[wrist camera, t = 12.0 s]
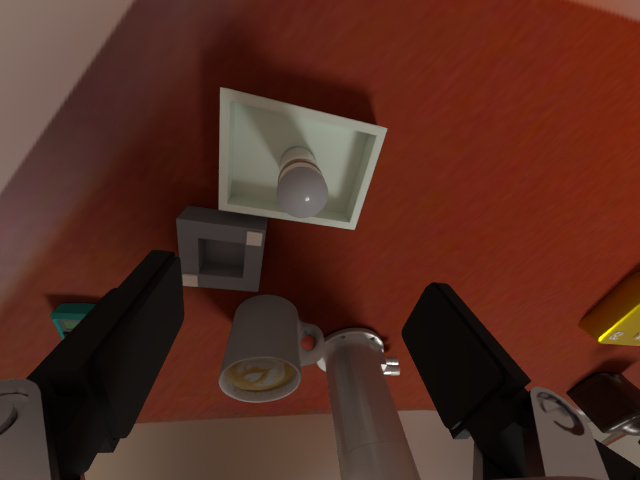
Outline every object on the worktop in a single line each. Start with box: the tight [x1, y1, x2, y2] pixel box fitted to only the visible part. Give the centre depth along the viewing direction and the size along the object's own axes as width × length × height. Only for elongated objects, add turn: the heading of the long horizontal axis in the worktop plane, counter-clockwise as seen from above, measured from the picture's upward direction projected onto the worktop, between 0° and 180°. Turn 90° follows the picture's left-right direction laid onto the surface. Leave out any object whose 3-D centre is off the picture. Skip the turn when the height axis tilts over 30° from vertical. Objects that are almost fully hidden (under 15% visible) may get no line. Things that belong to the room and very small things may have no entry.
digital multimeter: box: [50, 303, 96, 339], centre depth 36 cm, size 7×15×3 cm, turn 168°
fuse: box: [276, 146, 328, 218], centre depth 22 cm, size 4×4×9 cm
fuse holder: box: [176, 205, 268, 292], centre depth 29 cm, size 9×9×4 cm
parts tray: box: [219, 87, 387, 230], centre depth 25 cm, size 15×11×3 cm
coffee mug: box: [219, 295, 325, 402], centre depth 34 cm, size 13×10×10 cm
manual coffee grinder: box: [567, 372, 640, 444], centre depth 56 cm, size 16×11×18 cm
